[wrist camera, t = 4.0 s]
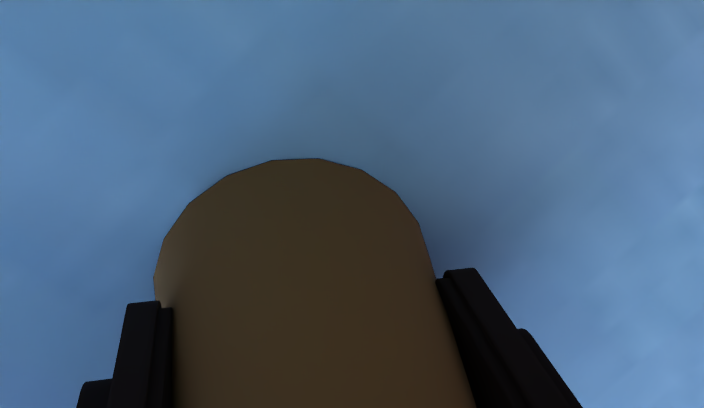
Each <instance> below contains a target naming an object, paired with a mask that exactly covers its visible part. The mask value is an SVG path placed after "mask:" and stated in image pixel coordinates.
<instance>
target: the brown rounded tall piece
mask: <svg viewBox="0 0 704 408" xmlns="http://www.w3.org/2000/svg"><path fill="white" fill-rule="evenodd" d="M153 279H154V289H155V299H156V301H158V300H159V301H160V303H161V307H162V308H167V307H172V408H477V407H476V403H475V400H474V397H473V394H472V391H471V388H470V384H469V381H468V378H467V375H466V372H465V369H464V365H463V362H462V359H461V356H460V353H459V350H458V346H457V343H456V340H455V337H454V334H453V330H452V327H451V324H450V321H449V318H448V315H447V311H446V309H445V306H444V304H443V301H442V299H441V296H440V294H439V291H438V289H437V286H436V283H435V281H436V277H435V273H434V270H433V267H432V264H431V261H430V258H429V254H428V251H427V248H426V245H425V242H424V239H423V235H422V232H421V229H420V226H419V223H418V222H417V220H416V219H415V217H414V216H413V215H412V213H411V212H410V211H409V209H408V208H407V207H406V205H405V204H404V203H403V201H402V200H401V199H400V197H399V196H398V195H397V193H396V192H394V191H393V190H391V189H390V188H388V187H387V186H385V185H384V184H382V183H381V182H379V181H378V180H376V179H375V178H373V177H372V176H370V175H369V174H367V173H366V172H364V171H363V170H360V169H356V168H352V167H349V166H345V165H341V164H337V163H334V162H330V161H326V160H322V159H296V160H272V161H269V162H266V163H263V164H260V165H257V166H254V167H251V168H248V169H246V170H243V171H240V172H237V173H234V174H231V175H228V176H226V177H224V178H223V179H222V180H220V181H219V182H218V183H216V184H215V185H214V186H212V187H211V188H209V189H208V190H207V191H205V192H204V193H203V194H201V195H200V196H198V197H197V198H196V199H194V200H193V201H192V202H190V203H189V204H188V205H187V207H186V208H185V210H184V211H183V212H182V214H181V215H180V217H179V218H178V220H177V221H176V222H175V224H174V225H173V227H172V228H171V229H170V231H169V232H168V234H167V235H166V236H165V238H164V240H163V244H162V247H161V251H160V255H159V258H158V262H157V266H156V269H155V273H154V277H153Z"/></svg>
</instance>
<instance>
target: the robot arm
mask: <svg viewBox="0 0 704 408" xmlns="http://www.w3.org/2000/svg"><path fill="white" fill-rule="evenodd" d="M435 283H436V286H437V289H438V291H439V294H440V296H441V299H442V301H443V304H444V306H445V309H446V311H447V315H448V318H449V321H450V324H451V327H452V330H453V334H454V337H455V340H456V343H457V346H458V350H459V353H460V356H461V359H462V362H463V365H464V369H465V372H466V375H467V378H468V381H469V384H470V388H471V391H472V394H473V397H474V400H475V403H476V407H477V408H583V407H582V406H581V405H580V403H579V402H578V400H577V399H576V398H575V396H574V395H573V393H572V392H571V390H570V389H569V388H568V386H567V385H566V383H565V382H564V381H563V379H562V378H561V376H560V375H559V374H558V372H557V371H556V369H555V368H554V366H553V365H552V364H551V362H550V361H549V359H548V358H547V357H546V355H545V354H544V352H543V351H542V350H541V348H540V347H539V345H538V344H537V342H536V341H535V340H534V338H533V337H532V335H531V334H530V333H529V332H528V331H527V330H525V329H522V328H521V329H517V328H516V327H515V325H514V324H513V322H512V321H511V320H510V318H509V317H508V315H507V314H506V312H505V311H504V309H503V308H502V306H501V305H500V303H499V302H498V301H497V299H496V298H495V296H494V295H493V293H492V292H491V290H490V289H489V287H488V286H487V285H486V283H485V282H484V280H483V279H482V277H481V276H480V274H479V273H478V271H477V270H476V269H475V268H465V269H455V270H446V271H445V272H444V275H443V278H440V279H436V281H435ZM76 408H172V307H167V308H162V307H161V303H160V301H159V300H158V301H149V302H139V303H130V304H128V305H127V308H126V313H125V318H124V323H123V328H122V333H121V338H120V343H119V348H118V353H117V358H116V363H115V368H114V373H113V378H112V379H106V380H97V381H89V382H85V383H84V384H83V386H82V389H81V391H80V395H79V399H78V403H77V407H76Z"/></svg>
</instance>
